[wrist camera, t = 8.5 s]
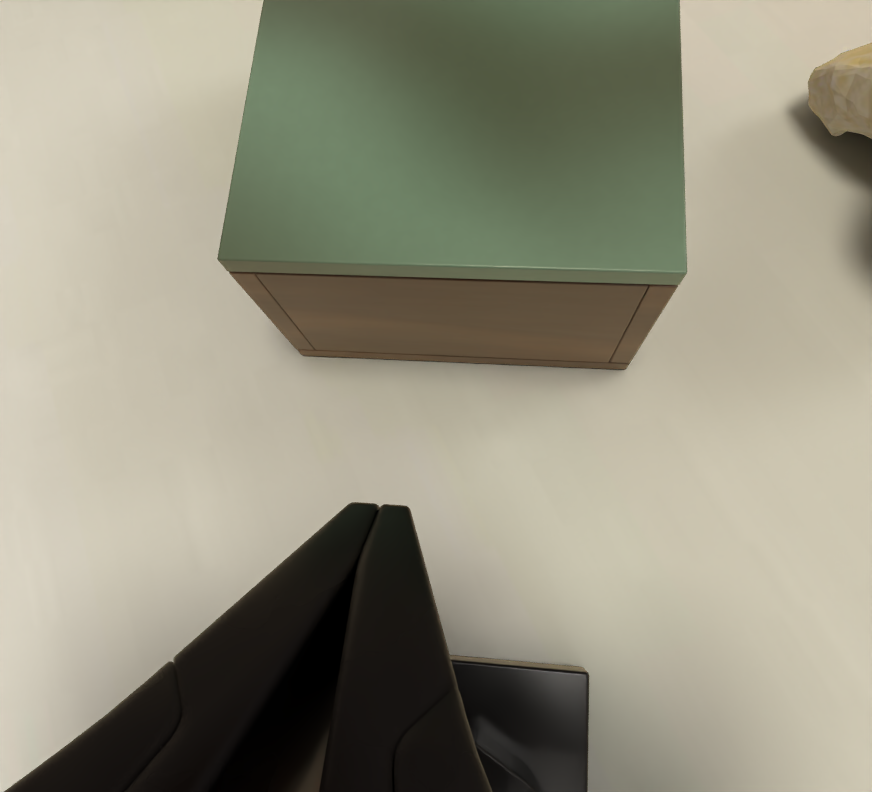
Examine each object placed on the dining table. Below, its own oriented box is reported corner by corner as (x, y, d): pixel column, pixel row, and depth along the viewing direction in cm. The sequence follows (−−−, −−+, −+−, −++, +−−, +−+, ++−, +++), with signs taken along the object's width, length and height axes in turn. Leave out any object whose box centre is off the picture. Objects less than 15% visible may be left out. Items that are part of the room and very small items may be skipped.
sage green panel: (298, -138, 21) (291, -162, 20) (669, -151, 20) (675, -177, 19) (227, 271, 17) (216, 259, 16) (679, 286, 16) (687, 273, 15)
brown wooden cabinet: (343, 47, 27) (295, -118, 21) (626, 45, 26) (669, -131, 19) (301, 356, 24) (228, 273, 17) (626, 370, 22) (678, 286, 16)
